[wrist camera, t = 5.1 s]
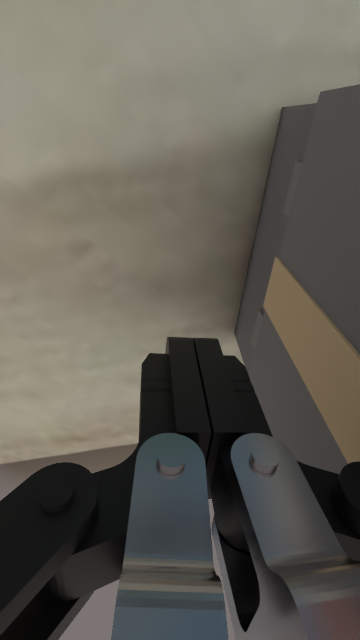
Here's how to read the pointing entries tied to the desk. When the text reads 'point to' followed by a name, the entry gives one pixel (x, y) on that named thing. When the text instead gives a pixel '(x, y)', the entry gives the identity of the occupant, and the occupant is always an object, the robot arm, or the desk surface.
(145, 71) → the desk surface
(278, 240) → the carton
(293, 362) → the lid
